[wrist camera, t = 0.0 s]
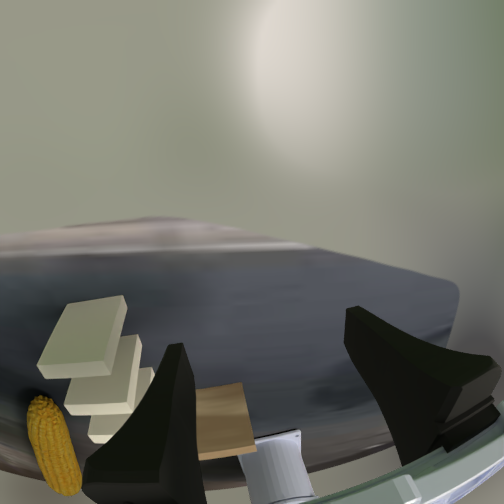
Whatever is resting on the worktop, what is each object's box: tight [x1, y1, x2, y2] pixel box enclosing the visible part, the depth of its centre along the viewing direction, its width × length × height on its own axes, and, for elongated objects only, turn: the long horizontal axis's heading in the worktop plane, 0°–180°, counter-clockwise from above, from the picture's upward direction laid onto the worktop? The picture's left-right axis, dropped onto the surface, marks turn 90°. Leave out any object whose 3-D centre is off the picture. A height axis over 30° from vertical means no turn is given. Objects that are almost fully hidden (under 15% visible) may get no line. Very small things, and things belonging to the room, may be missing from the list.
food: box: [27, 395, 82, 496], centre depth 25 cm, size 21×6×6 cm, turn 163°
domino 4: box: [196, 382, 257, 460], centre depth 24 cm, size 1×5×7 cm, turn 96°
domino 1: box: [37, 295, 127, 379], centre depth 19 cm, size 1×5×7 cm, turn 97°
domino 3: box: [88, 367, 155, 443], centre depth 22 cm, size 1×5×7 cm, turn 97°
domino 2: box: [64, 334, 142, 415], centre depth 20 cm, size 1×5×7 cm, turn 97°
